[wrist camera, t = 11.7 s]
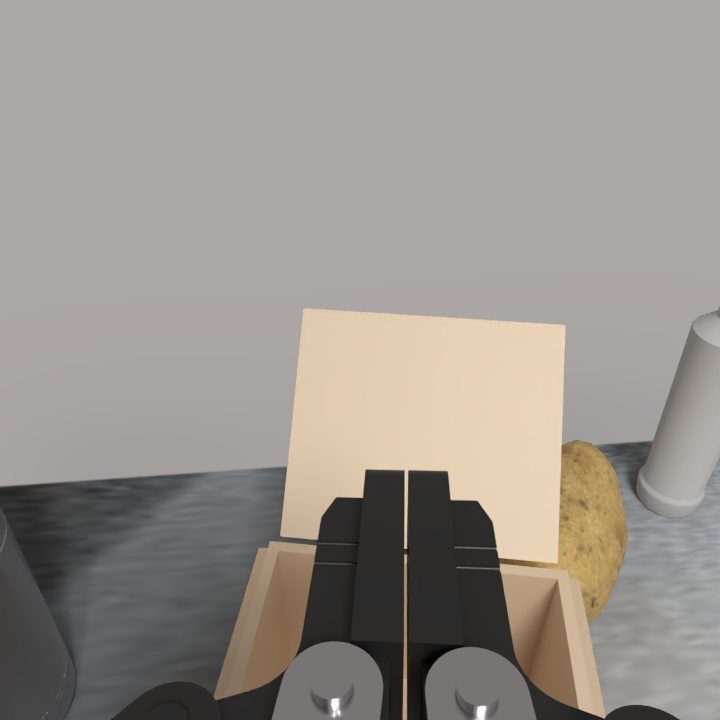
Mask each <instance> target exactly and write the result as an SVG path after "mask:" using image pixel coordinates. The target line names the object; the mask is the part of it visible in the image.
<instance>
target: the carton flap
mask: <svg viewBox="0 0 720 720" xmlns="http://www.w3.org/2000/svg"><path fill="white" fill-rule="evenodd" d="M564 352H565V325H556V324H540V323H523V322H509V321H493V320H477V319H462V318H461V319H460V318H446V317H445V318H444V317H430V316H414V315H399V314H383V313H382V314H381V313H368V312H352V311H337V310H320V309H304V312H303V321H302V331H301V340H300V350H299V359H298V369H297V379H296V388H295V398H294V409H293V418H292V428H291V437H290V447H289V456H288V466H287V475H286V485H285V494H284V504H283V514H282V523H281V533H280V536H282V537H292V538H303V539H313V540H318V534H319V528H320V522H321V517H322V516H323V514H324V513H325V512H326V510H327V509H328V507H329V506H330V505H331V503H332V502H333V501H334V499H335V498H336V497H350V498H363V491H364V479H365V471H366V469H374V470H405V522H404V549H407V505H408V470H426V471H448V476H449V488H450V499H451V500H474V501H478V502H479V503H480V505H481V506H482V508H483V509H484V510H485V512H486V513H487V515H488V516H489V517H490V519H491V520H492V522H493V527H494V533H495V539H496V545H497V551H498V557H499V558H506V559H516V560H526V561H536V562H546V563H556V564H558V539H559V508H560V477H561V446H562V443H561V442H562V414H563V384H564V381H563V380H564Z"/></svg>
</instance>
